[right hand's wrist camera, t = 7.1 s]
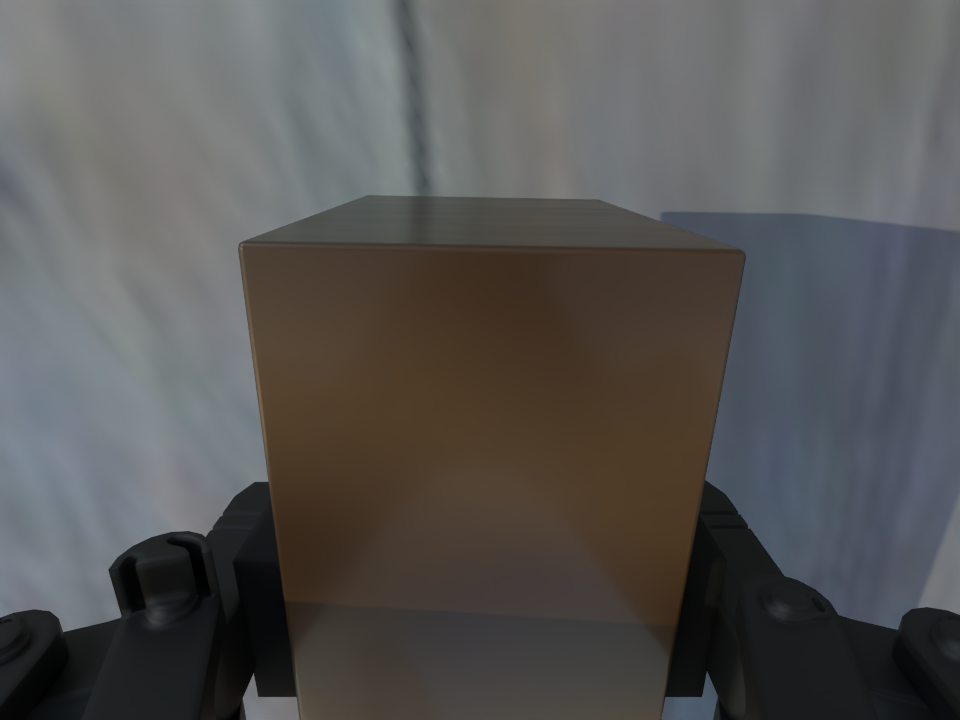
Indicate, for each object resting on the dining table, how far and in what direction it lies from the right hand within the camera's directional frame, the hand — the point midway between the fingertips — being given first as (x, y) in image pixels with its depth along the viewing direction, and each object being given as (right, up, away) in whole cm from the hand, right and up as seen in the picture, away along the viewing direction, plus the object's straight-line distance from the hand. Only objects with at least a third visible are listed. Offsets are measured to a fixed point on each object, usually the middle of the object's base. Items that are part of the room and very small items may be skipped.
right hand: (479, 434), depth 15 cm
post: (0, -26, +10) cm, 28 cm away
